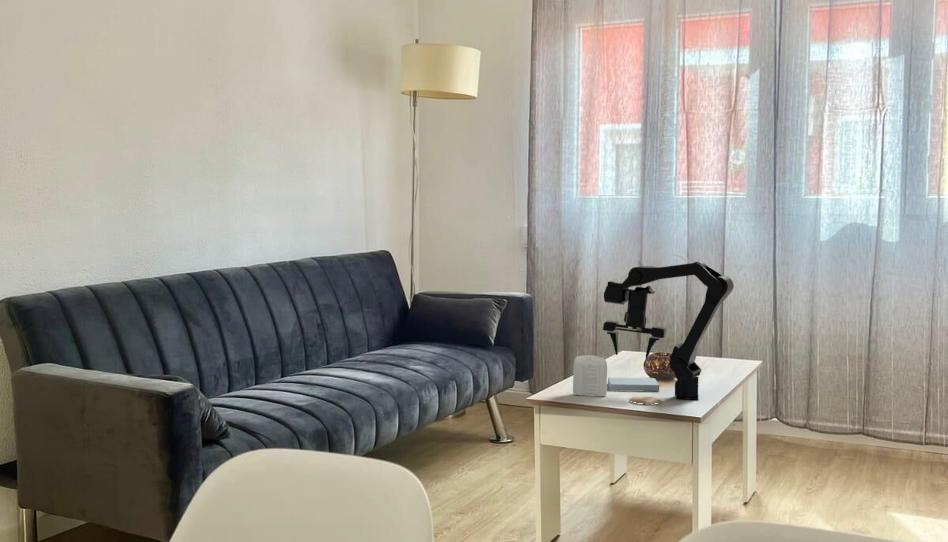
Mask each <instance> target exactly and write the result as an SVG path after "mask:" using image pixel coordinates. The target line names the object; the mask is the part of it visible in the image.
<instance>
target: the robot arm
mask: <svg viewBox="0 0 948 542" xmlns="http://www.w3.org/2000/svg"><path fill="white" fill-rule="evenodd" d="M690 276H695V277H696V278H697V280H699V281H700V282H701V283H702V284H703V285H704V286H705V287H707V288H706V290H705V297H704V302H703V305H702V307H701V308H700V310H699V313H698V314H697V316H696V318H695V320H694V322H693V324H692V326H691V328H690V329H689V332H688V334H687V336H686V337H685V340H684V341H683V343H679V344H676V345H674V346H673V349H672V352H671V354H670V355H669V356H668V358H669V361H668V365H669V368H670V369H671V371H672V372H673V374H674V376H675V379H676V380H675V381H674V396H675V399H676V398H678V399H679V400H695V401H696V400H697V401H699V376H700V375H701V372H702V369H701V367H700V366H699V364H697V362H695V361H696V358H697V354H698V347H699V346H700V344H701V341H702V339H703V337H704V335H705V333H706V332H707V330H708V328H709V326H710V324H711V322H712V320H713V318H714V317H715V314H716V312H717V310H718V309H719V307H720V306H721V304H723V302H724V301H726V299H727V298H728V296H730V294H731V293H732V291H733V289H734V288H735V287H734V286H735V285H734V283H733V282H734V281H733V280H732V278H730V277H729V276H727V275H723V274H721V273H720V272H719V271H717V270H716V269H713V268H712V267H710V266H708V265H707V264H706V263H705V262H704V261H694V262H692V263H689V262H688V263H683V264H675V265H669V266H648V265H641V266H635V267H632V268H630V270H629V271H628V274H627V277H626V278H625V279H624V281H622V282H617V281H611V280H609V281H607V285H606V287H605V290H604V292H603V300H604V302H605V303H607V304H613V305H615V304H616V305H621V306H622V305H623V306H624V305H625V304H626V303H627V309H626V312H625V311H624V315H623V316H624V317H623V322H624V323H625V324H621V323H620V322H619V321H615V320H606V321H604V322H603V327H602V331H604V332H606V334H607V335H609V336H610V338H611V341H612V344H613V348H614V352H615V356H617V355H619V335H620V331H624V332H629V333H631V332H633V333H638V334H639V333H640V334H648V335H650V337H649V338H648V343H647V347H646V352H645V360H647V359H648V358H649V355H650V354H651V352H652V349H653V347H654V345H655V343H656V342H657V341H660V340H661V339H664V338H666V336H667V329H666V328H665V327H663V326H651V328H650V327H647V325H646V324H647V316H646V315H647V305H648V304H647V303H648V297H649V296H648V295H652V294H653V295H654V294H655V293H656V291H655V290H654V289H653V288H652V286H651V285H647V284H650V283H653V282H656V281H659V280H664V279H666V280H667V279H673V278H681V277H690ZM642 285H647V286H645V287H643V286H642ZM632 287H635V288H634V289H632ZM629 327H630V328H629ZM678 399H677V400H678Z"/></svg>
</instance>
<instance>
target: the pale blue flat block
mask: <svg viewBox="0 0 948 542" xmlns="http://www.w3.org/2000/svg"><path fill="white" fill-rule="evenodd" d="M608 384H609V385H608ZM607 385H608V387H609V390H610V389H611V390H644V391H643V392H660V384H659V382H658V381H657V380H656V378H653V377H608V376H607ZM611 390H610V391H611Z"/></svg>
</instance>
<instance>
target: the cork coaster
mask: <svg viewBox="0 0 948 542" xmlns="http://www.w3.org/2000/svg"><path fill="white" fill-rule="evenodd" d="M630 401H632V402H636V403H643V404H655V403H660V402H661V403H662V401H661V399H660V398H657V397H655V396H654V397H653V396H633V397H631V398H629V402H630ZM661 403H660V404H661Z"/></svg>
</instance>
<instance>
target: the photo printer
mask: <svg viewBox="0 0 948 542" xmlns="http://www.w3.org/2000/svg"><path fill="white" fill-rule="evenodd" d="M572 368H573V374H572V377H573V378H572V394H573V393H574V394H581V395H580V396H583V395H593V396H592V397H601V396H605V395H606V396H607V389H608V388H607V385H608V363H607V359H606V358H605V357H602V356H600V355H599V356H598V355H593V354H586V355H585V354H584V355H579V356H576V357H575V358H574V361H573V367H572ZM606 396H605V397H606Z"/></svg>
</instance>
